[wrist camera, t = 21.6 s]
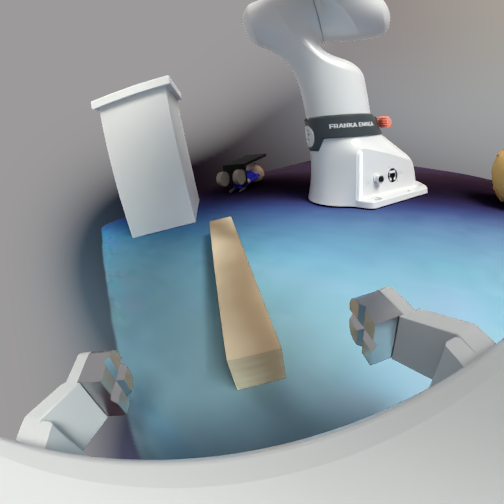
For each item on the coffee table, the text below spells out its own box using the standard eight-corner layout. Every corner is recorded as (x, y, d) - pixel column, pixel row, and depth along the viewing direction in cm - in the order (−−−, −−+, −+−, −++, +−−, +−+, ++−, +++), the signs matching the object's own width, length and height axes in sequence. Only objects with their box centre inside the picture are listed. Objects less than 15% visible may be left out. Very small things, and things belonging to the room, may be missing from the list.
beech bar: (281, 347, 14) (286, 381, 16) (230, 216, 38) (235, 236, 39) (226, 361, 14) (238, 392, 15) (209, 221, 38) (214, 241, 39)
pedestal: (203, 198, 65) (180, 93, 55) (200, 222, 47) (168, 75, 36) (148, 212, 64) (123, 110, 54) (126, 241, 46) (90, 101, 36)
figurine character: (245, 200, 62) (272, 177, 73) (236, 167, 58) (266, 150, 69) (221, 201, 66) (250, 179, 76) (212, 171, 62) (243, 153, 73)
